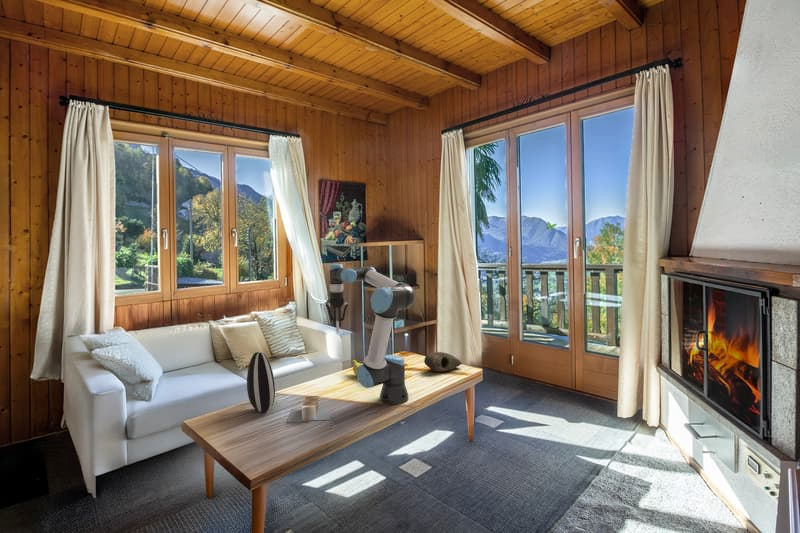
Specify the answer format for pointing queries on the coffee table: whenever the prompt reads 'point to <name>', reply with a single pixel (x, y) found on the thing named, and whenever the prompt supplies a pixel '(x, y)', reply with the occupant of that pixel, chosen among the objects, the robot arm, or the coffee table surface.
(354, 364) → the fruit
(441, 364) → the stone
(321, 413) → the mat
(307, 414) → the block
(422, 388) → the coffee table surface
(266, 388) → the sunflower seed
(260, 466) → the coffee table surface
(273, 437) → the coffee table surface
